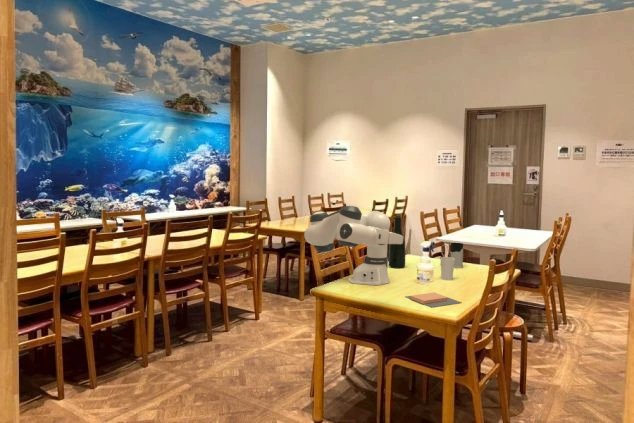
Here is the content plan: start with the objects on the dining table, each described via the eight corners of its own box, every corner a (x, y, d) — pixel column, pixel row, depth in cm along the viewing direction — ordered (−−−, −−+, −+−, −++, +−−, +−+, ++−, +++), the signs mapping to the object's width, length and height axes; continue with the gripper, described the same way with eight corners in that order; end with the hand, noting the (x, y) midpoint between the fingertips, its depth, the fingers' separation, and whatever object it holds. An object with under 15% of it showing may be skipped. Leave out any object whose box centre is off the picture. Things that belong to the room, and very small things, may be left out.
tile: (423, 300, 233) (447, 297, 240) (410, 295, 242) (433, 292, 248) (423, 304, 233) (447, 300, 240) (410, 299, 242) (433, 295, 249)
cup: (456, 280, 283) (457, 259, 281) (442, 280, 282) (443, 259, 281) (451, 277, 290) (452, 257, 289) (437, 277, 290) (438, 257, 289)
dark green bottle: (408, 266, 319) (409, 215, 316) (399, 269, 312) (400, 216, 308) (394, 264, 326) (395, 214, 323) (385, 266, 318) (386, 215, 315)
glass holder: (462, 268, 314) (463, 245, 313) (439, 267, 319) (440, 243, 318) (463, 266, 322) (464, 243, 321) (441, 264, 327) (442, 241, 326)
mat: (431, 307, 229) (431, 307, 229) (405, 297, 247) (405, 296, 247) (461, 303, 237) (461, 302, 237) (434, 293, 255) (434, 292, 255)
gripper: (359, 243, 233) (382, 248, 239) (386, 244, 215) (411, 248, 222) (360, 230, 234) (384, 235, 240) (388, 229, 216) (412, 234, 223)
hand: (397, 241), depth 231 cm, fingers closed
